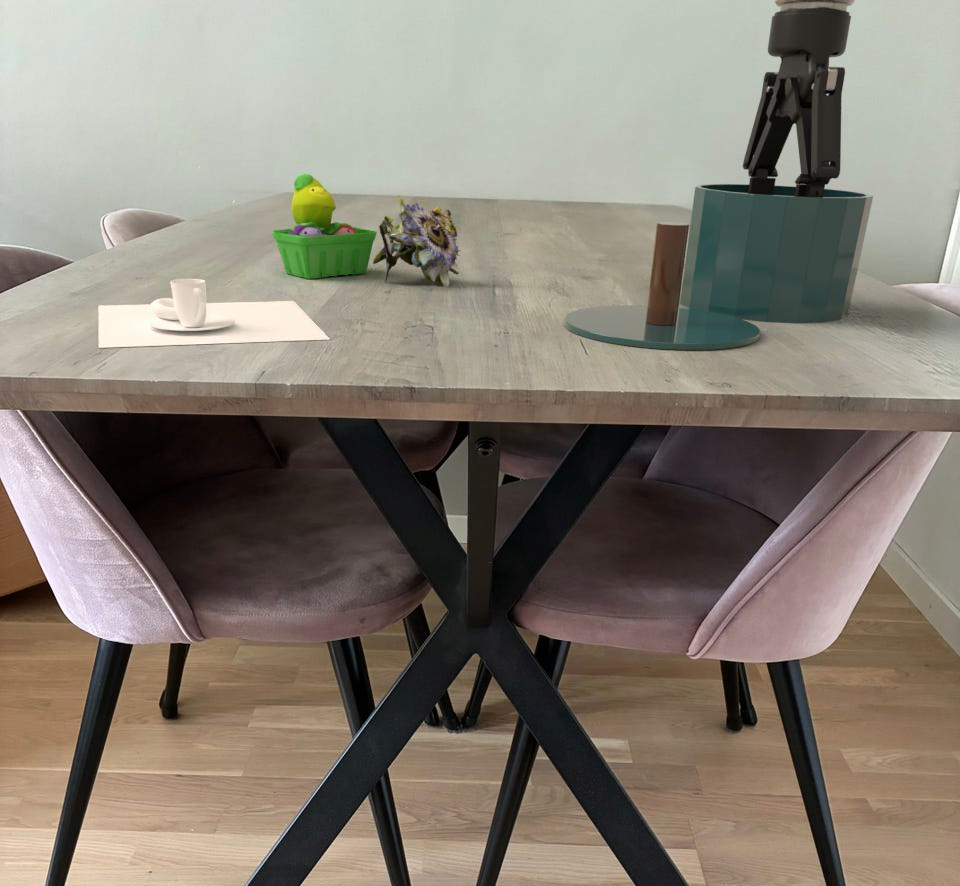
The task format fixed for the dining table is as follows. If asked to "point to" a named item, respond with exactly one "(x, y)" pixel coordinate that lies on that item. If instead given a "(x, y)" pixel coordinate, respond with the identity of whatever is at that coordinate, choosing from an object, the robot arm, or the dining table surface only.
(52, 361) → the dining table surface
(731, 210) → the pot
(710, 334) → the lid
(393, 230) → the passion flower
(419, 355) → the dining table surface
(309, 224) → the fruit basket
